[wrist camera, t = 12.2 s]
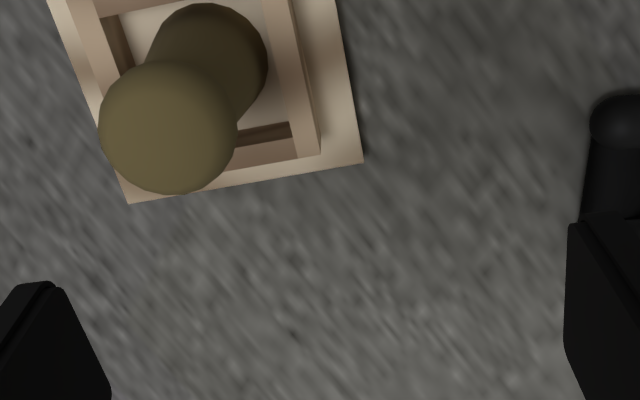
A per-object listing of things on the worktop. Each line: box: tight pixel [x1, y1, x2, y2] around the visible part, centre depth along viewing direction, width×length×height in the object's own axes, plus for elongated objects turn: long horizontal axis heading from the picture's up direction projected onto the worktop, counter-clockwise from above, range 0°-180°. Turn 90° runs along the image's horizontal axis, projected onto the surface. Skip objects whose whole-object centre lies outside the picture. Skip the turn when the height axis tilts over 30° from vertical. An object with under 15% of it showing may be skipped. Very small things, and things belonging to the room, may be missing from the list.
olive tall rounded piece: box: [97, 3, 269, 195], centre depth 26 cm, size 6×6×11 cm
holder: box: [46, 0, 364, 204], centre depth 31 cm, size 14×14×4 cm
